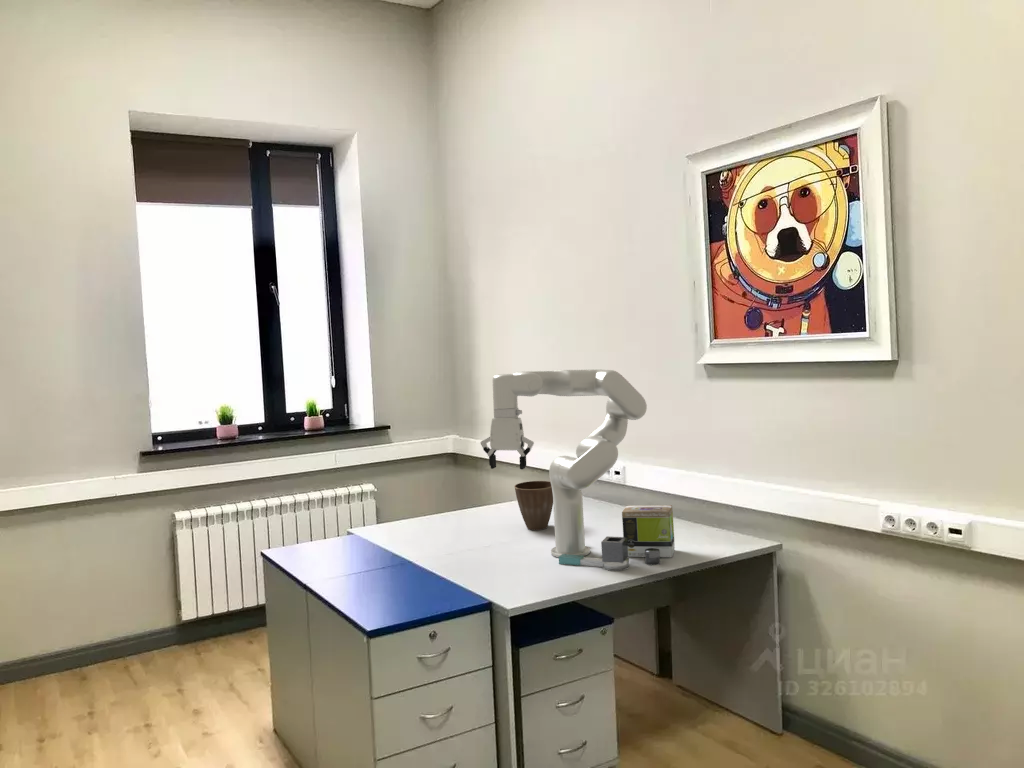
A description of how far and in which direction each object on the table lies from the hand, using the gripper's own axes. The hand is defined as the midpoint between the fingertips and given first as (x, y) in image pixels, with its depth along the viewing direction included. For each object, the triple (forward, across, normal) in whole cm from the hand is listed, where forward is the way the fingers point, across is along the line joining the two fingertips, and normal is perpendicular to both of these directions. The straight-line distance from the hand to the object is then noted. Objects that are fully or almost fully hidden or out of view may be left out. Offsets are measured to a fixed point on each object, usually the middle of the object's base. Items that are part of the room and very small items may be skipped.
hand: (507, 468), depth 260 cm
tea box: (+30, -40, -17) cm, 53 cm away
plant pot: (+30, +6, -45) cm, 54 cm away
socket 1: (+27, -33, -2) cm, 43 cm away
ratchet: (+30, -26, -2) cm, 40 cm away
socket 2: (+30, -43, -7) cm, 53 cm away
